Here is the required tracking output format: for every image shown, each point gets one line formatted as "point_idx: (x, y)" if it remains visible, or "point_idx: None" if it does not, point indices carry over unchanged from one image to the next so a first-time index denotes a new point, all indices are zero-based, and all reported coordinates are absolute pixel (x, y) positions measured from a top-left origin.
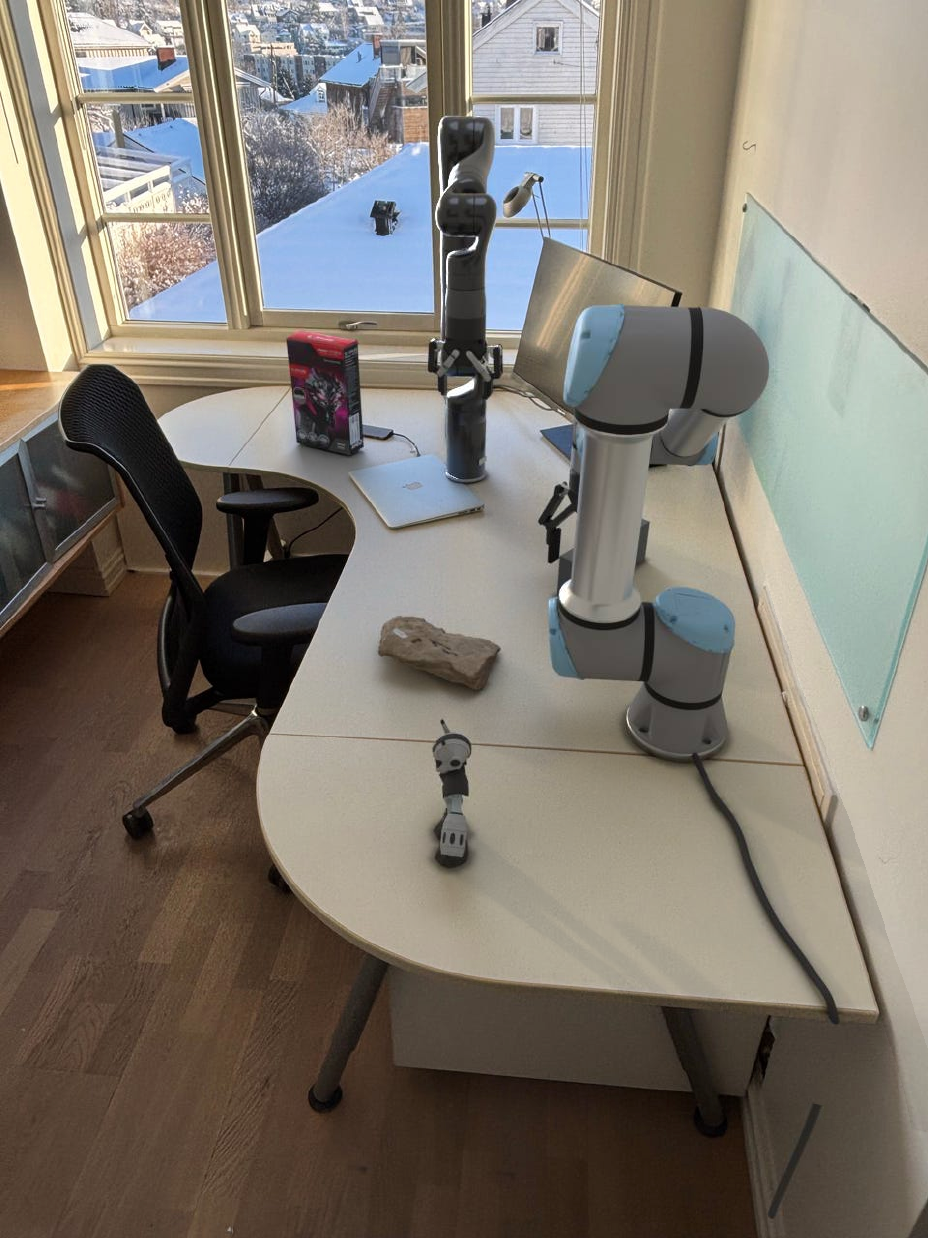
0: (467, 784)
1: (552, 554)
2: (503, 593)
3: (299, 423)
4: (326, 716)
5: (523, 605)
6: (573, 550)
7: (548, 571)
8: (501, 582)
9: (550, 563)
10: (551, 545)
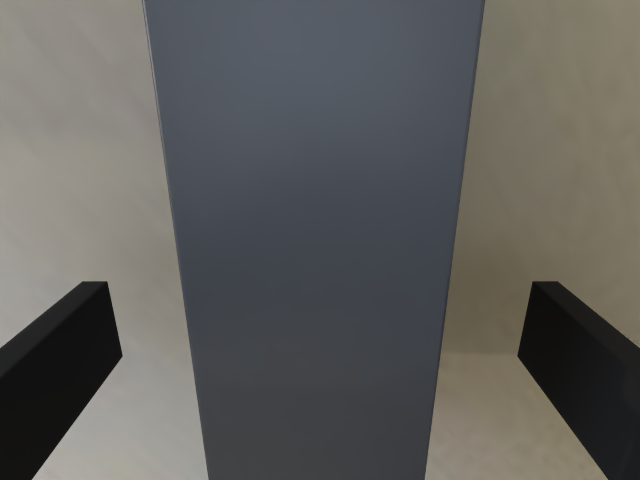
0: None
1: (90, 386)
2: (109, 447)
3: None
4: None
5: None
6: (234, 454)
7: (85, 213)
8: None
9: (120, 357)
10: (41, 460)
